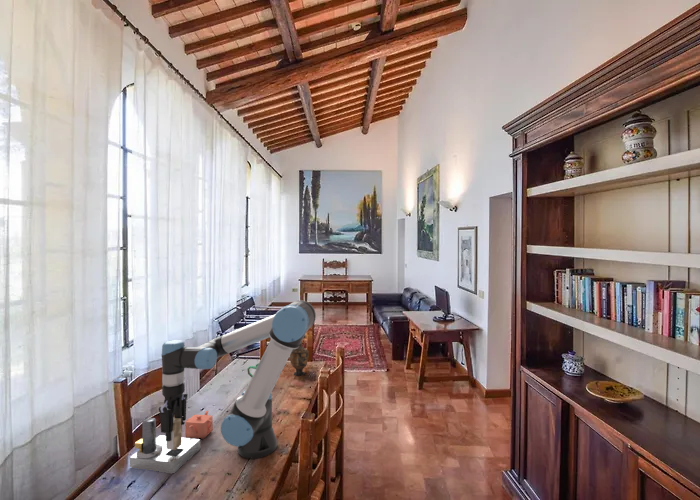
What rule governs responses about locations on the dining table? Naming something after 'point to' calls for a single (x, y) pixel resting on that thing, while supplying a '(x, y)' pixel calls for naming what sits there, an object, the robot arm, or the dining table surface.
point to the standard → (148, 440)
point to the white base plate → (167, 456)
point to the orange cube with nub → (199, 426)
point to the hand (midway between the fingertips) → (174, 445)
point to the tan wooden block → (177, 432)
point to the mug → (253, 368)
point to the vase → (299, 359)
